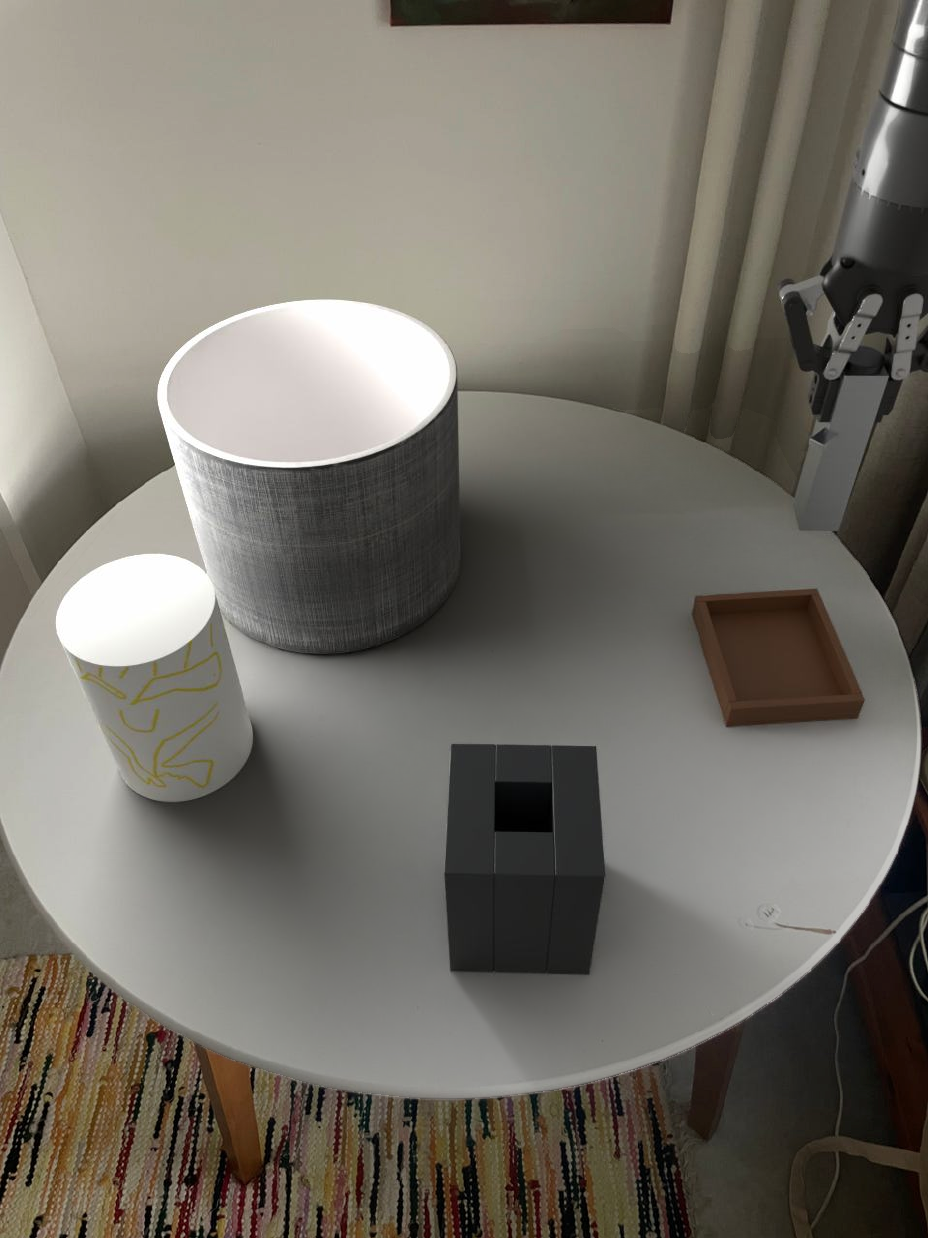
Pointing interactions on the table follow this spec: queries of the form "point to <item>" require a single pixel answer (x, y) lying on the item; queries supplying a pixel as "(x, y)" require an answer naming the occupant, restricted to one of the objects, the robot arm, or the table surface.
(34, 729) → the table surface
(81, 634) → the white patterned cylinder
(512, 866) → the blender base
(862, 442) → the grey square bar
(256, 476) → the planter
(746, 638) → the tray
